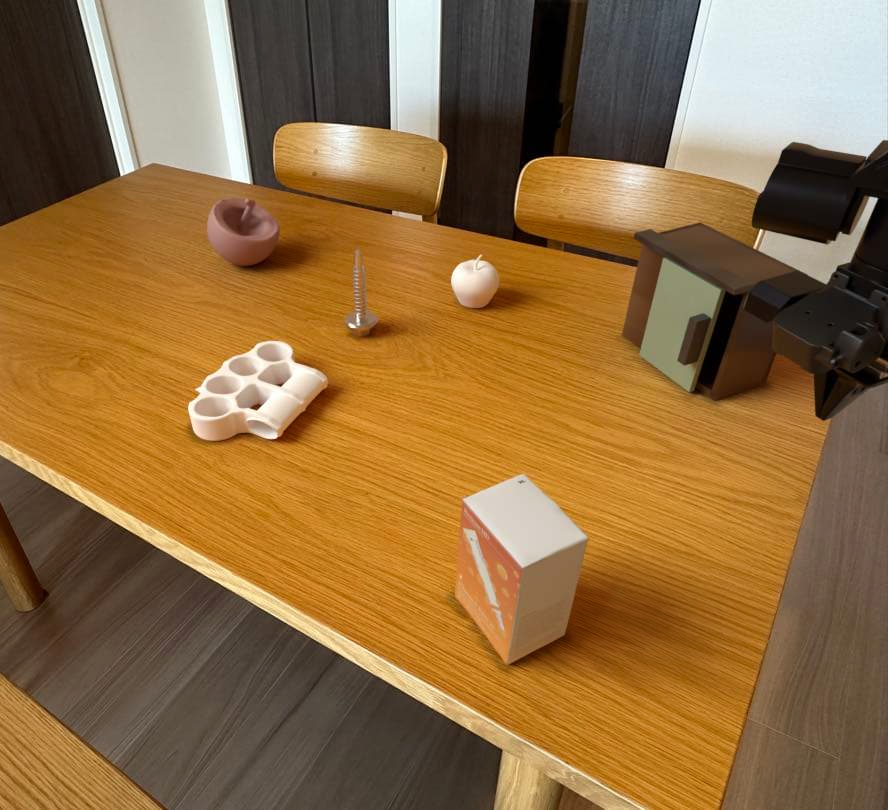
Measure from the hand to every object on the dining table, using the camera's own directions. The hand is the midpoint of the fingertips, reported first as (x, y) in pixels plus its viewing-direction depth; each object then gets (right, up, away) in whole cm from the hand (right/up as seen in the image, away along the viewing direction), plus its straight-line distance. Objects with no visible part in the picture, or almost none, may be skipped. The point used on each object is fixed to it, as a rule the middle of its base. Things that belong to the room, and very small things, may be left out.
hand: (823, 417), depth 62 cm
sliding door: (-3, +5, +25) cm, 26 cm away
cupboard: (+1, +7, +28) cm, 29 cm away
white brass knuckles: (-54, +1, +26) cm, 60 cm away
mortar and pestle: (-60, +26, +58) cm, 87 cm away
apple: (-24, +16, +43) cm, 52 cm away
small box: (-28, -18, 0) cm, 34 cm away
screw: (-41, +12, +38) cm, 57 cm away
